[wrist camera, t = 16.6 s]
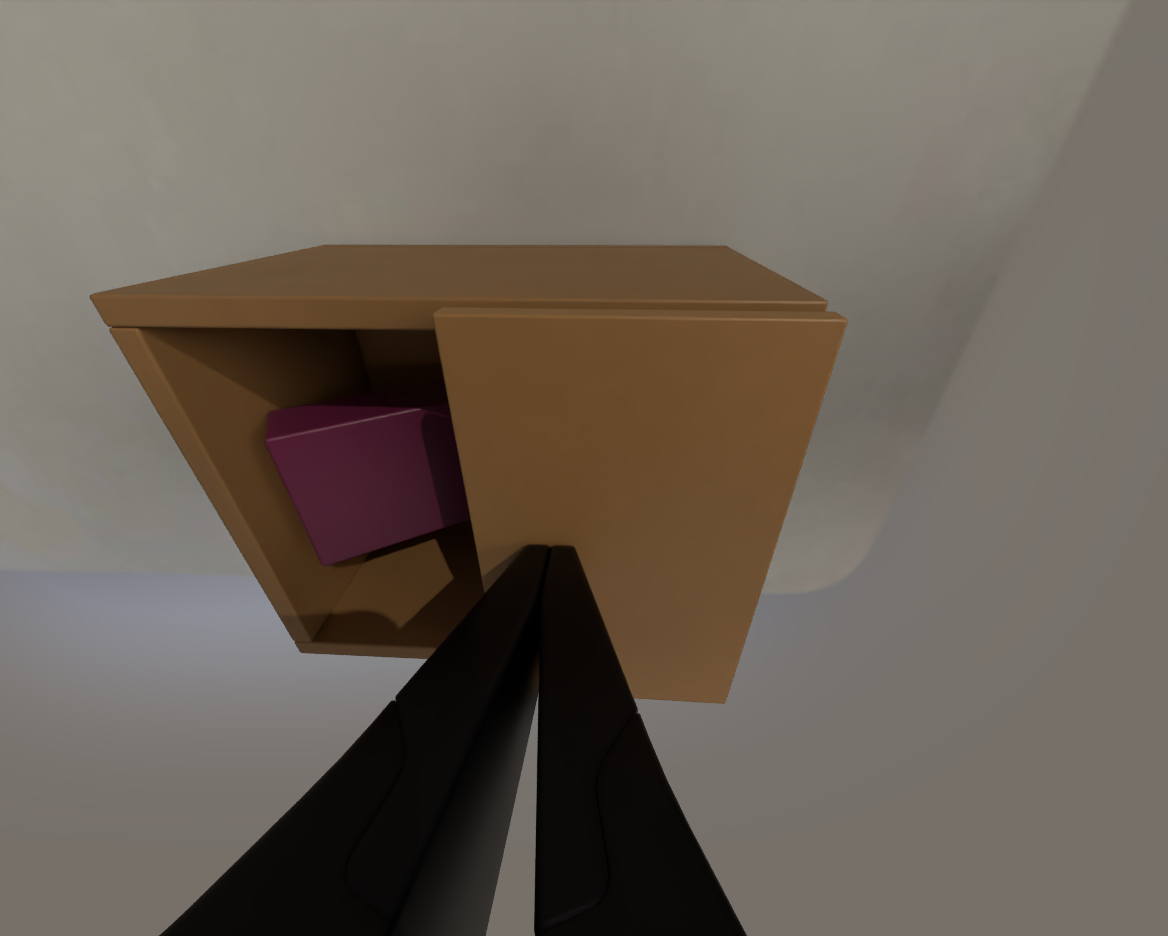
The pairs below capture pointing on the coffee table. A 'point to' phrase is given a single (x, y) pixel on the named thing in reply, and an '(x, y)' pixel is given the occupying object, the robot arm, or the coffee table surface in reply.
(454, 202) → the coffee table surface
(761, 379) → the flap
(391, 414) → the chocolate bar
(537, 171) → the coffee table surface
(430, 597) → the carton
